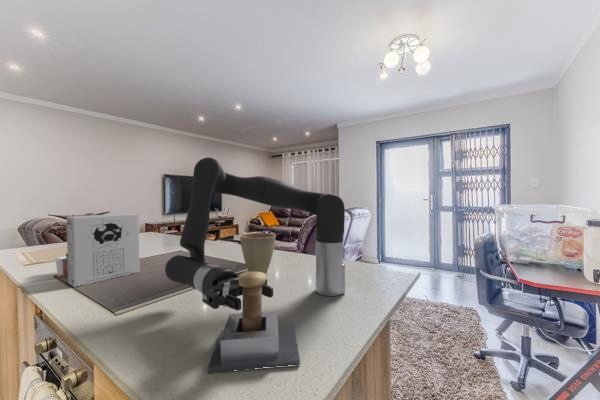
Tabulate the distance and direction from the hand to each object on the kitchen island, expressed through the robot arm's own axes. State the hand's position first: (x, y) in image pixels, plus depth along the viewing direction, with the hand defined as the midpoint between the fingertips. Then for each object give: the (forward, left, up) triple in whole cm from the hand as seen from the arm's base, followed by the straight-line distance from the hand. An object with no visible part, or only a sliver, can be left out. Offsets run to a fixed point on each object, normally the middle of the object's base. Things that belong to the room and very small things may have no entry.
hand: (257, 298), depth 54 cm
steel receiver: (0, -1, -11) cm, 11 cm away
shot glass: (+82, -64, -11) cm, 105 cm away
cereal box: (+62, -56, -11) cm, 85 cm away
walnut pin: (+1, -1, -10) cm, 10 cm away
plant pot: (+2, -55, -11) cm, 56 cm away
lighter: (+77, -61, -11) cm, 99 cm away
